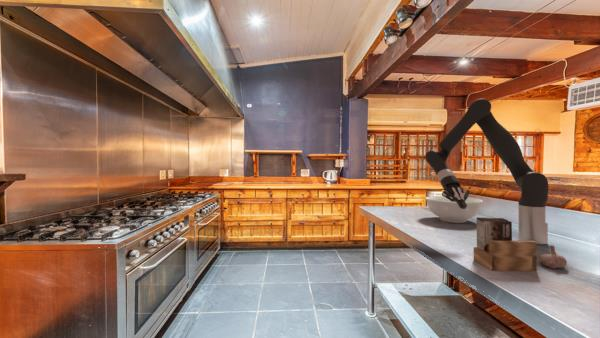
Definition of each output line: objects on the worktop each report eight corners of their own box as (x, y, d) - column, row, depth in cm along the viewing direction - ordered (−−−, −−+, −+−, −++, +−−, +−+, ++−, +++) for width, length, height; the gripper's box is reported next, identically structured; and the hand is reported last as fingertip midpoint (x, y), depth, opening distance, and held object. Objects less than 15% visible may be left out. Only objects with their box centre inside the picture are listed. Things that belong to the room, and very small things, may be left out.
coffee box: (503, 259, 93) (503, 217, 93) (512, 265, 87) (513, 221, 86) (475, 256, 95) (475, 216, 95) (483, 263, 89) (483, 220, 89)
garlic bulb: (551, 271, 82) (551, 248, 82) (532, 262, 90) (532, 241, 90) (574, 271, 82) (574, 248, 82) (553, 262, 89) (553, 241, 89)
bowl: (419, 221, 157) (419, 199, 157) (431, 213, 182) (431, 194, 181) (480, 229, 136) (480, 203, 136) (484, 219, 160) (484, 197, 160)
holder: (513, 260, 92) (513, 234, 92) (536, 270, 82) (536, 242, 82) (473, 260, 92) (473, 234, 92) (492, 270, 83) (492, 241, 83)
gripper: (437, 175, 119) (453, 203, 106) (464, 174, 118) (483, 202, 106) (432, 185, 124) (446, 212, 112) (457, 184, 124) (475, 212, 111)
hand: (464, 207), depth 109 cm, fingers closed
